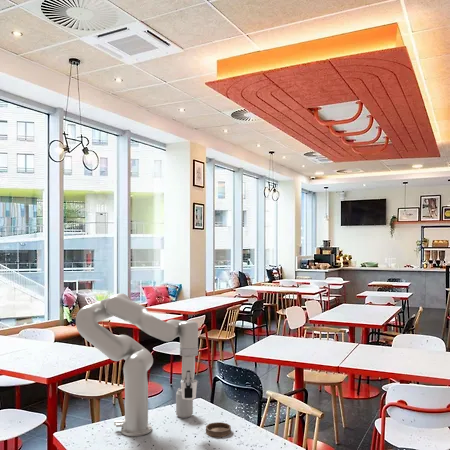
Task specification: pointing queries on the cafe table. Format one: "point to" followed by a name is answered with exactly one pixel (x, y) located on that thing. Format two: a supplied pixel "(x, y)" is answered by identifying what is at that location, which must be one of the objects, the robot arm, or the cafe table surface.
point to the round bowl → (218, 429)
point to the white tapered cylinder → (194, 387)
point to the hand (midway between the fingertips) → (188, 394)
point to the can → (183, 406)
